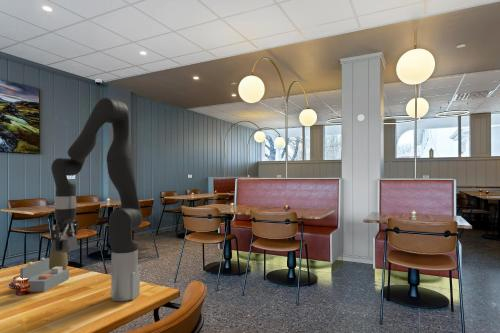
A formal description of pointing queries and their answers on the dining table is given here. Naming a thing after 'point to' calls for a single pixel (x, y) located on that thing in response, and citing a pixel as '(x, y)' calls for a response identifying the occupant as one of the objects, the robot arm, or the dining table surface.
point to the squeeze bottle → (58, 259)
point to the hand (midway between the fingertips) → (64, 248)
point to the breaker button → (45, 276)
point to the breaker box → (39, 269)
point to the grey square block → (66, 244)
